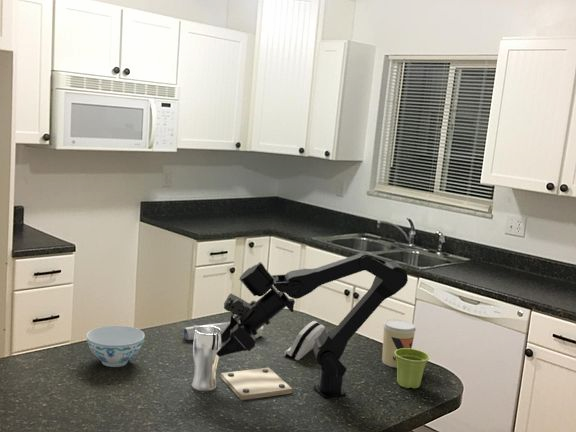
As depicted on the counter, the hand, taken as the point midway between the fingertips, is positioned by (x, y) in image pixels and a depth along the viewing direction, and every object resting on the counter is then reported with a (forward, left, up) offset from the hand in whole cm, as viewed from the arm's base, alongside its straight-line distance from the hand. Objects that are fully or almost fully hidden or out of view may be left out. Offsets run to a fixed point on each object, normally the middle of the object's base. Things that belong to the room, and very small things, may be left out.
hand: (217, 348), depth 161 cm
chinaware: (+22, +21, -11) cm, 32 cm away
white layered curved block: (+16, -35, -11) cm, 40 cm away
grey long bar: (+33, -15, -11) cm, 38 cm away
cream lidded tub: (+1, -58, -11) cm, 58 cm away
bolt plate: (-2, -10, -10) cm, 15 cm away
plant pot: (-13, -52, -11) cm, 54 cm away
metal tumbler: (+1, +3, -11) cm, 11 cm away
